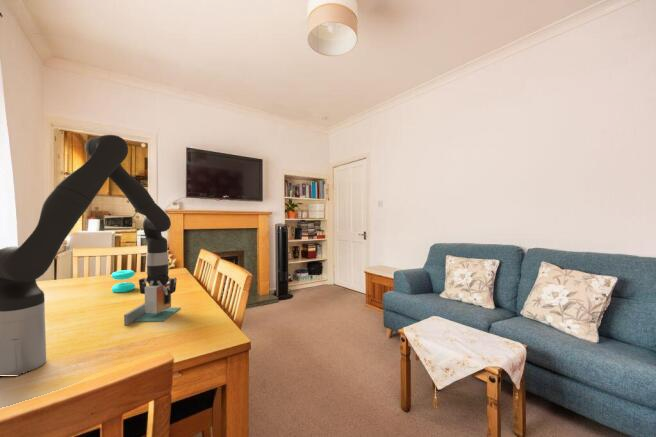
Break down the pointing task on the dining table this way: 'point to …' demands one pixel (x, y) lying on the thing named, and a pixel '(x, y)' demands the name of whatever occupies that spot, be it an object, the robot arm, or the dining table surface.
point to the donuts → (120, 276)
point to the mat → (157, 316)
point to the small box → (155, 299)
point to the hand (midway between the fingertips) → (158, 303)
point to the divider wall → (134, 314)
